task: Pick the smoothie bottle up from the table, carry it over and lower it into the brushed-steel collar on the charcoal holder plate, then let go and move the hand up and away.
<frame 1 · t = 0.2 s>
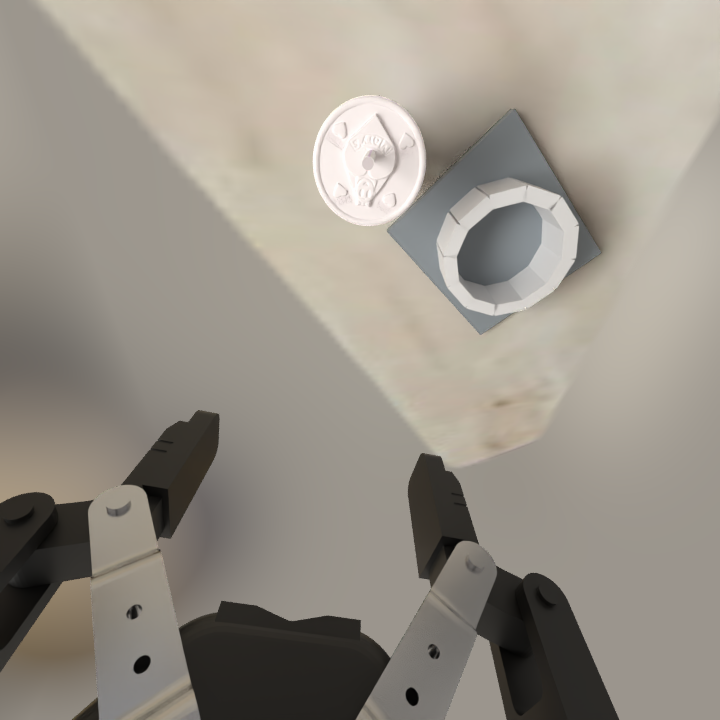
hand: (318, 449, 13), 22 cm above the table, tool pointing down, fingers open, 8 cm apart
smoothie: (372, 153, 27), on the table
holder: (491, 239, 30), on the table
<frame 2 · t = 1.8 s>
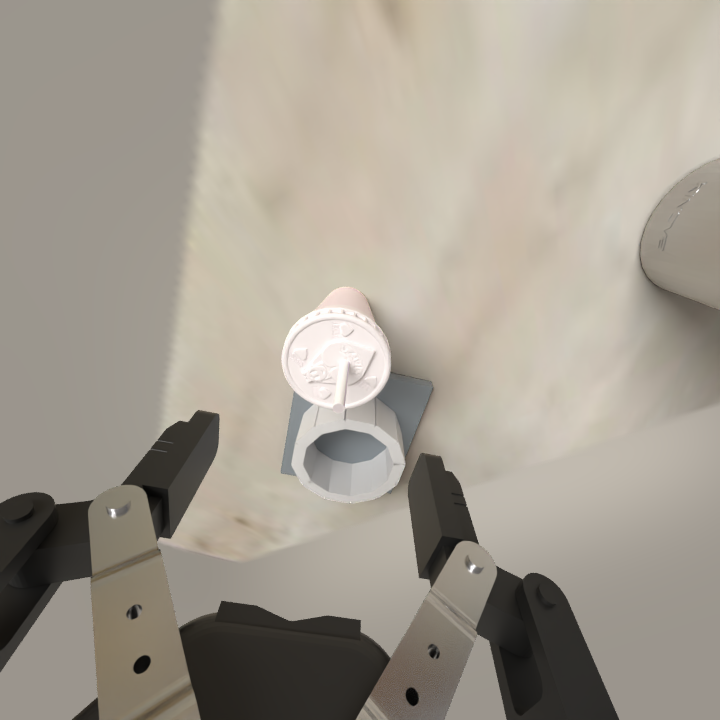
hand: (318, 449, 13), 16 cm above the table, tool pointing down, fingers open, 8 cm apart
smoothie: (346, 307, 28), on the table
holder: (350, 427, 34), on the table
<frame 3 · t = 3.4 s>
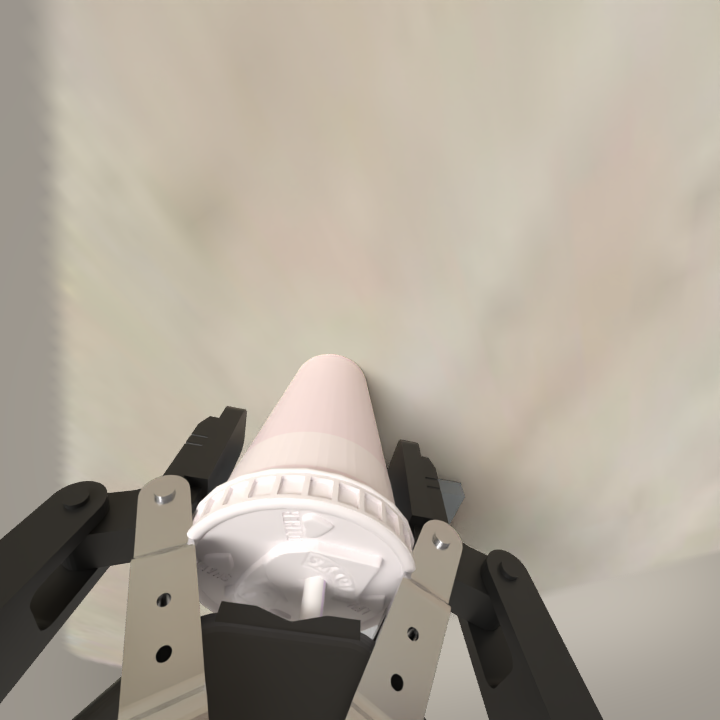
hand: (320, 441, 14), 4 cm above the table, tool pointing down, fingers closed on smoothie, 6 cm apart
smoothie: (331, 383, 18), on the table, touching gripper
holder: (341, 538, 23), on the table
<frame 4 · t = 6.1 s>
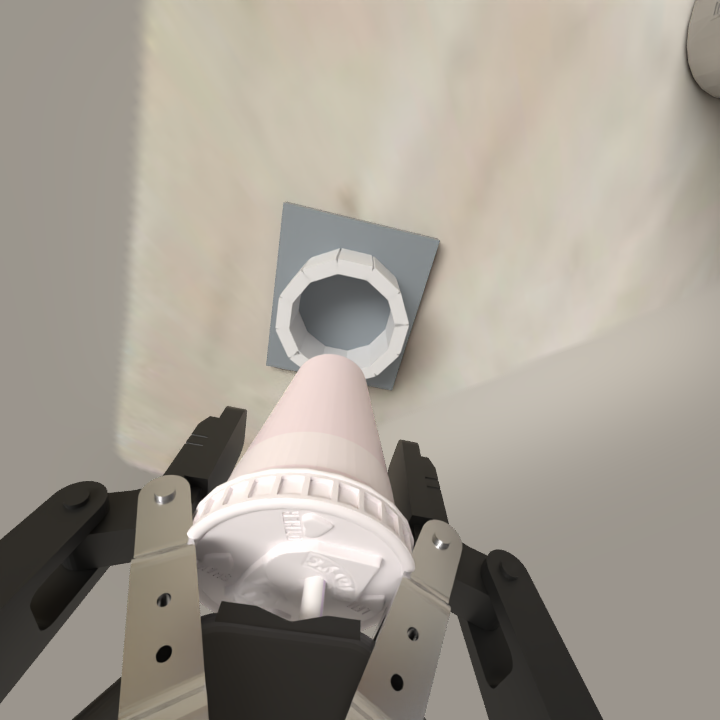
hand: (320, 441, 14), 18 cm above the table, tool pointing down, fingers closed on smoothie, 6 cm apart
smoothie: (331, 383, 18), point 13 cm above the table, touching gripper
holder: (345, 305, 29), on the table
when the fingers open (7 cm above the table, at t = 9.1 s): smoothie drops 1 cm, resting on holder.
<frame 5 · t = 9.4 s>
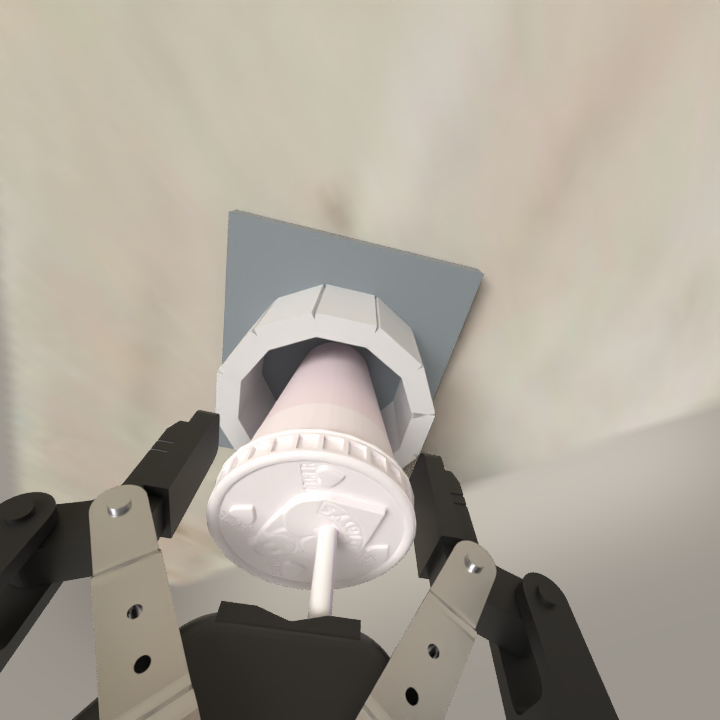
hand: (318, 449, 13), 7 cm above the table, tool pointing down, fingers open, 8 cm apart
smoothie: (334, 370, 19), point 1 cm above the table, touching holder
holder: (333, 363, 20), on the table
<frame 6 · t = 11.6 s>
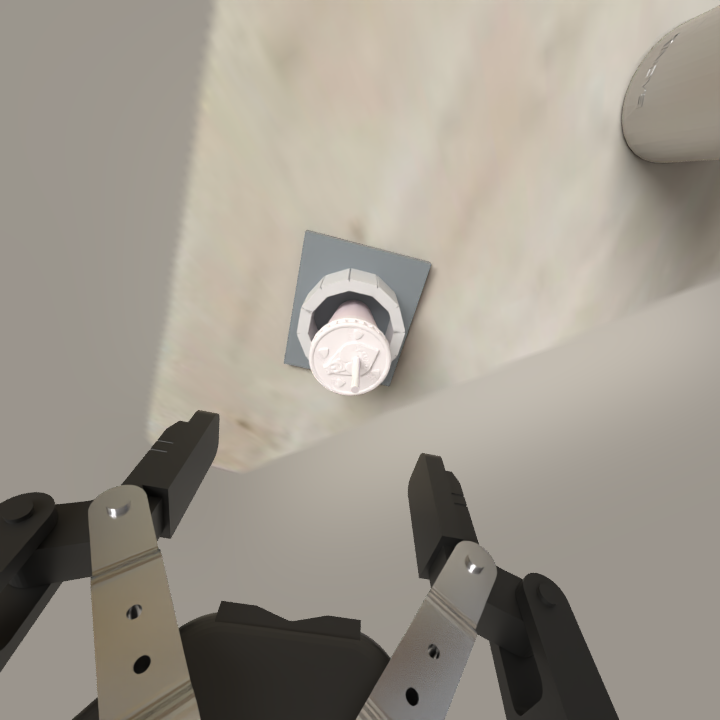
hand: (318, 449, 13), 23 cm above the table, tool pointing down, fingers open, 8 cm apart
smoothie: (353, 316, 34), point 1 cm above the table, touching holder
holder: (352, 314, 35), on the table
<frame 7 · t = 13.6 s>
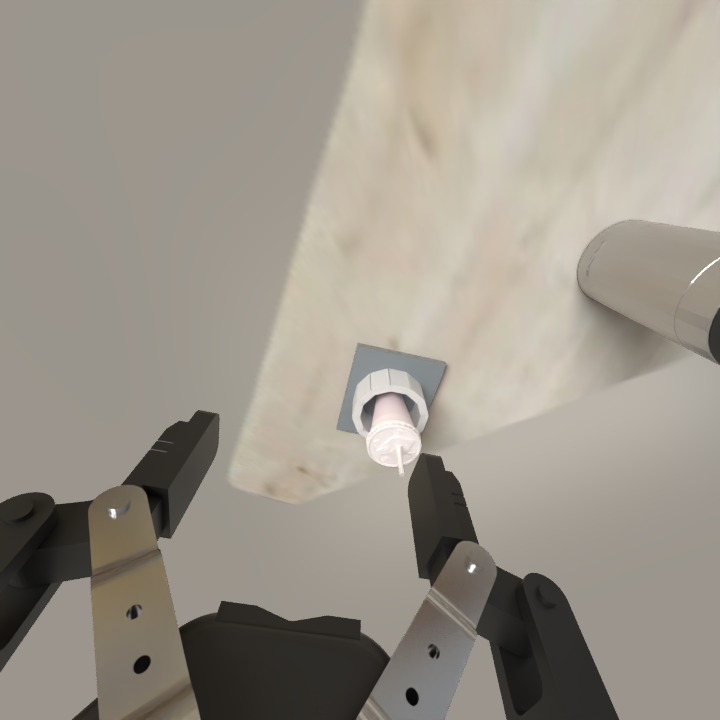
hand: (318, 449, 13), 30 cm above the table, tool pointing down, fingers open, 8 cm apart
smoothie: (389, 398, 47), point 1 cm above the table, touching holder
holder: (388, 395, 48), on the table
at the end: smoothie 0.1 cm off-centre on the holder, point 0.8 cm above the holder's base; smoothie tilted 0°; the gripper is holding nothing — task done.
